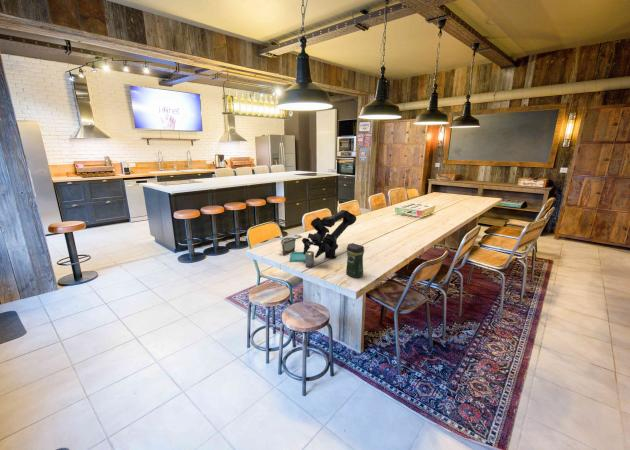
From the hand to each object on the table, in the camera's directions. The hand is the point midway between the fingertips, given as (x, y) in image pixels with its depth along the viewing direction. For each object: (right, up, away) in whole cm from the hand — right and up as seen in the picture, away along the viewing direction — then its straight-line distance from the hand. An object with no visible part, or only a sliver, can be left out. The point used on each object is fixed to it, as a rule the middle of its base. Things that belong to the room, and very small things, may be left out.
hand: (309, 256), depth 181 cm
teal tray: (-6, -3, +15) cm, 17 cm away
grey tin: (0, -6, +2) cm, 7 cm away
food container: (-16, 0, +25) cm, 30 cm away
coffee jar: (+26, -10, -10) cm, 30 cm away
